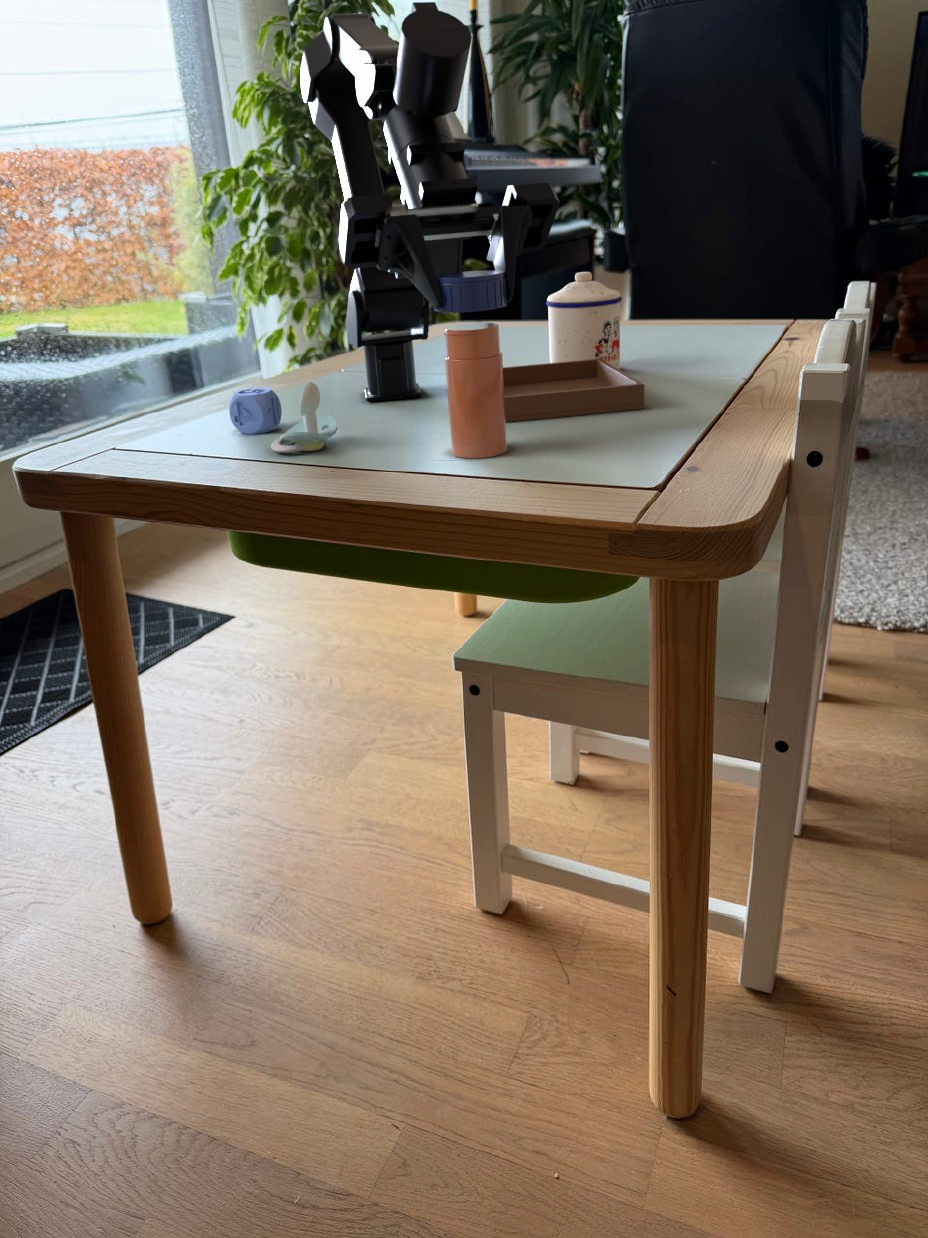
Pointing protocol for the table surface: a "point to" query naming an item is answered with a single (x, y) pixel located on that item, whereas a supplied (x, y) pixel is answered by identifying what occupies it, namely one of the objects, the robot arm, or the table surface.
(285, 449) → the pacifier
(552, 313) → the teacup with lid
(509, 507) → the table surface
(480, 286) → the lid
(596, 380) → the tray
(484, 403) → the jar
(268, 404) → the decorative dice
